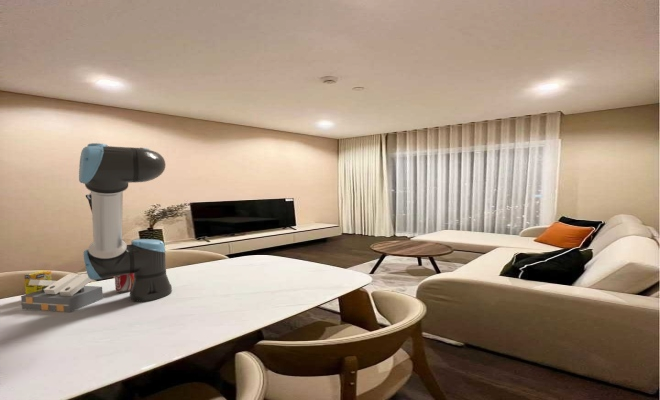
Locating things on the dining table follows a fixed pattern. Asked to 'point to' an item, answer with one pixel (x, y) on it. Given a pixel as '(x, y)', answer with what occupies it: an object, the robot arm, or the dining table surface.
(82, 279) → the rocker
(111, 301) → the dining table surface
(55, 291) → the rocker
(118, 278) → the beverage can
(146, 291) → the robot arm
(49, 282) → the rocker
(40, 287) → the supplement box
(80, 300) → the switch unit
